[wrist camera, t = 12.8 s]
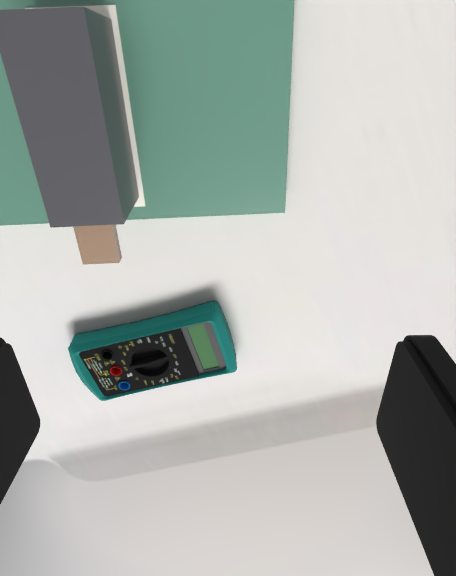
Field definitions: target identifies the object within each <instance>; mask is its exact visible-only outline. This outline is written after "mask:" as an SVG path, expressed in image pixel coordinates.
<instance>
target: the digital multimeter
mask: <svg viewBox="0 0 456 576" xmlns="http://www.w3.org/2000/svg"><path fill="white" fill-rule="evenodd" d="M173 329H174V330H173ZM169 330H170V331H169ZM165 331H166V332H165ZM160 332H162V333H160ZM156 333H157V334H156ZM152 334H153V335H152ZM148 335H149V336H148ZM143 336H145V337H143ZM139 337H140V338H139ZM135 338H136V339H135ZM131 339H132V340H131ZM127 340H128V341H127ZM122 341H124V342H122ZM118 342H119V343H118ZM97 347H98V348H97ZM93 348H94V349H93ZM89 349H90V350H89ZM68 350H69V353H70V357H71V360H72V363H73V365H74V368H75V370H76V372H77V374H78V376H79V377H80V379H81V380H82V382H83V383H84V384H85V385H86V386H87V387H88V389H89V390H90V391H91V392H92V393H93V394H94V395H95V396H96V397H97V398H99V399H100V400H102V401H106V400H109V399H113V398H117V397H121V396H125V395H129V394H133V393H137V392H141V391H146V390H150V389H154V388H158V387H163V386H168V385H172V384H177V383H181V382H186V381H191V380H196V379H201V378H206V377H211V376H217V375H222V374H227V373H232V372H235V371H236V370H237V363H236V354H235V349H234V345H233V341H232V337H231V333H230V330H229V327H228V324H227V322H226V319H225V317H224V315H223V312H222V310H221V308H220V306H219V304H218V303H217V302H215V301H211V302H208V303H205V304H201V305H198V306H194V307H191V308H187V309H184V310H181V311H177V312H174V313H170V314H166V315H162V316H158V317H154V318H150V319H147V320H143V321H139V322H134V323H129V324H125V325H120V326H115V327H111V328H106V329H101V330H96V331H90V332H85V333H80V334H76V335H75V336H74V338H73V340H72V342H71V344H70V346H69V348H68ZM170 366H171V367H170Z"/></svg>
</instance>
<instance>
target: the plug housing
mask: <svg viewBox="0 0 456 576" xmlns="http://www.w3.org/2000/svg"><path fill="white" fill-rule="evenodd" d="M0 54H1V58H2V61H3V65H4V68H5V71H6V75H7V78H8V82H9V85H10V89H11V92H12V96H13V99H14V103H15V106H16V110H17V113H18V116H19V120H20V123H21V127H22V130H23V134H24V137H25V141H26V144H27V148H28V151H29V154H30V158H31V161H32V165H33V168H34V172H35V175H36V179H37V182H38V186H39V189H40V193H41V196H42V199H43V203H44V206H45V210H46V213H47V217H48V220H49V224H50V227H71V226H73V227H74V231H75V235H76V239H77V243H78V247H79V250H80V254H81V258H82V262H83V264H102V263H119V262H120V260H121V258H122V256H121V251H120V246H119V240H118V235H117V230H116V224H124V223H125V221H126V219H127V218H128V216H129V214H130V212H131V210H132V209H133V207H134V205H135V203H136V202H137V200H138V198H139V193H138V187H137V180H136V174H135V167H134V161H133V155H132V148H131V142H130V135H129V129H128V123H127V116H126V110H125V103H124V97H123V91H122V84H121V78H120V71H119V65H118V59H117V52H116V46H115V39H114V33H113V27H112V20H111V19H110V18H108V17H105V16H103V15H101V14H99V13H97V12H94V11H92V10H90V9H88V8H86V7H60V8H34V9H7V10H0Z"/></svg>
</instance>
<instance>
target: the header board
mask: <svg viewBox="0 0 456 576" xmlns="http://www.w3.org/2000/svg"><path fill="white" fill-rule="evenodd" d="M60 7H86V8H88V9H90V10H92V11H94V12H97V13H99V14H101V15H103V16H105V17H108V18H110V19H111V20H112V27H113V33H114V39H115V46H116V52H117V59H118V65H119V71H120V78H121V84H122V91H123V97H124V103H125V110H126V116H127V123H128V129H129V135H130V142H131V148H132V155H133V161H134V167H135V174H136V180H137V187H138V193H139V198H138V200H137V202H136V203H135V205H134V207H133V209H132V210H131V212H130V214H129V216H128V218H127V219H126V220H132V219H154V218H176V217H198V216H221V215H243V214H265V213H285V199H286V176H287V153H288V130H289V107H290V84H291V62H292V39H293V16H294V0H0V10H7V9H34V8H60ZM43 223H49V220H48V217H47V213H46V210H45V206H44V203H43V199H42V196H41V193H40V189H39V186H38V182H37V179H36V175H35V172H34V168H33V165H32V161H31V158H30V154H29V151H28V148H27V144H26V141H25V137H24V134H23V130H22V127H21V123H20V120H19V116H18V113H17V110H16V106H15V103H14V99H13V96H12V92H11V89H10V85H9V82H8V78H7V75H6V71H5V68H4V65H3V61H2V58H1V54H0V225H20V224H43Z"/></svg>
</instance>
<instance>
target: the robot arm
mask: <svg viewBox="0 0 456 576" xmlns="http://www.w3.org/2000/svg"><path fill="white" fill-rule="evenodd" d="M376 424H377V431H378V434H379V437H380V439H381V441H382V444H383V447H384V449H385V452H386V454H387V457H388V459H389V462H390V464H391V467H392V469H393V472H394V474H395V477H396V480H397V482H398V485H399V487H400V490H401V492H402V495H403V497H404V500H405V502H406V505H407V507H408V510H409V512H410V515H411V518H412V520H413V522H414V525H415V528H416V530H417V533H418V535H419V538H420V540H421V543H422V545H423V548H424V550H425V553H426V556H427V558H428V561H429V563H430V566H431V568H432V571H433V573H434V576H456V364H455V362H454V361H453V360H452V358H451V357H450V356H449V354H448V353H447V352H446V350H445V349H444V348H443V346H442V345H441V344H440V342H439V341H438V340H437V338H435V337H434V336H432V335H408V336H406V337H405V338H404V340H403V342H398V343H397V345H396V348H395V352H394V355H393V359H392V363H391V367H390V370H389V374H388V378H387V381H386V385H385V389H384V393H383V396H382V400H381V404H380V408H379V411H378V415H377V420H376ZM39 428H40V418H39V415H38V413H37V410H36V407H35V405H34V402H33V400H32V397H31V395H30V392H29V389H28V387H27V384H26V382H25V379H24V376H23V374H22V371H21V369H20V366H19V364H18V361H17V358H16V356H15V353H14V351H13V348H12V346H11V345H10V344H8V343H6V342H5V341H4V340H3V339H2V338H0V504H1V502H2V500H3V498H4V496H5V494H6V493H7V491H8V489H9V487H10V485H11V483H12V481H13V479H14V478H15V476H16V474H17V472H18V470H19V468H20V466H21V464H22V462H23V461H24V459H25V457H26V455H27V453H28V451H29V449H30V447H31V445H32V444H33V442H34V440H35V438H36V436H37V434H38V432H39Z"/></svg>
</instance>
